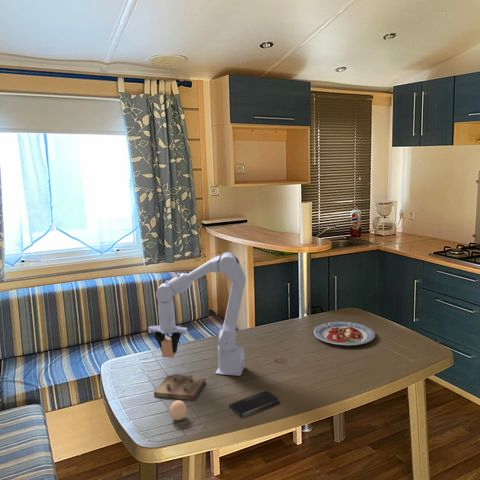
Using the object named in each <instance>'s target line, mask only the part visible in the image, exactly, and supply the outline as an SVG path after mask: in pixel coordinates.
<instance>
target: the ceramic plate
mask: <svg viewBox="0 0 480 480" xmlns="http://www.w3.org/2000/svg"><path fill="white" fill-rule="evenodd" d="M361 334H362V336H363V339H361V338H362V336H361ZM313 335H314V336H315V338H317V339H318V340H320V341H322V342H324V343H329V344H332V345H339V346H359V345H363V344H367V343H369V342H372V341H373V340H374V339H375V337H376V333H375V331H374V330H373V329H372V328H370V327H368V326H366V325H363V324H360V323H355V322H351V321H348V322H347V321H331V322H327V323H322V324H320V325H318V326H316V327H315V328H314V330H313ZM360 339H361V341H359V340H360ZM357 340H358V341H359V342H358V341H357ZM352 341H353V342H352ZM354 341H355V342H354ZM349 342H350V343H349ZM351 342H352V343H351Z"/></svg>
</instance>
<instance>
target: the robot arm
mask: <svg viewBox="0 0 480 480" xmlns="http://www.w3.org/2000/svg"><path fill="white" fill-rule="evenodd" d="M220 272H221V274H223V275H225V276H227V278H228V279H229V280H230V281H231V288H230V292H229V297H228V301H227V307H226V312H225V316H224V321H223V325H222V327H221V328H220V329H219V331H218V340H217V360H218V363H217V364H218V366H217V369H216V370H215V375H224V376H226V375H227V376H236V377H237V376H239V377H240V376H241V375H242V373H243V371H244V369H245V367H246V365H245V349H244V348H242V347H239V346H238V344H237V343H236V329H237V328H236V327H237V323H238V320H239V319H238V318H239V313H240V309H241V305H242V299H243V294H244V291H245V286H246V281H247V279H246V274H245V272H244V270H243V267H242V265H241V262H240V259H239V258H238V257H237V256H236V255H235V253H233V252H230V251H226V252H223V253H221V254H218V255H216V256H215V257H213V258H211V259H209V260H208V261H206V262H205V263H203V264H202V265H200V266H198V267H196V268H195V269H193V270H192V271H190V272H189V273H187V272H186V273H185V272H181V273H180V272H178V273H177V274H176V275H175V277H173V278H171V279H169V280H168V279H167V280H165V281H164V283H161V284H160V285H159V286H158V288H157V289H156V291H155V297H156V299H157V310H158V322H159V323H158V324H159V325H150V326H148V327H147V331H148V334H149V333H154V335H153V338H154V339H155V340H156V341H157V343H158V346H159V348H160V352H161V353H162V346H161V341H162V340H163V339H164V338H165V337H166V334H171V336H170V338H171V340H172V345H173V353H175V352H177V351H178V347H179V346H178V345H179V342H180V339H181V336H182V335H187V334H188V327H183V326H178V325H176V318H175V315H176V314H175V303H174V296H177V295H179V294H180V293H182V292H184V291H186V290H187V289H189V288H191V287H192V284H193V282H194V281H196V280H198V279H200V278H202V277H204V276H206V275H207V274H210V273H216V274H219V273H220Z"/></svg>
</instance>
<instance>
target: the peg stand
mask: <svg viewBox="0 0 480 480" xmlns="http://www.w3.org/2000/svg"><path fill="white" fill-rule="evenodd" d="M205 383H206V378H205V377H196V376H195V377H194V375H192V374H191V375H189V376H182V375H181V376H180V375H177V374H176V373H174V374H172V375H169V374H167V375H166V377H165V378H164V379H163V380H162V381H161V382H160V384H159V386H158V387H157V388H156V389H155V390H154V391H153V396H154V397H156V398H157V397H158V398H168V399H178V400H189V401H195V399H196V398H197V396H198V394H199V393H200V392H201V389H202V388H203V386H204V384H205Z"/></svg>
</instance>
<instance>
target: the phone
mask: <svg viewBox="0 0 480 480" xmlns="http://www.w3.org/2000/svg"><path fill="white" fill-rule="evenodd" d="M278 404H280V399H279V398H278V397H277V396H275V395H274V394H273V393H271V392H270V391H268V390H264V391H261V392H259V393H256V394H253V395H250V396H248V397H244V398H243V399H239V400H237V401H233V402H231V403H230V404H229V409H230V410H231V411H232V412H233V413H235V414H236V416H237V417H239V418H245V417H248V416H250V415H253V414H255V413H258V412H260V411H263V410H267V409H268V408H271V407H274V406H276V405H278Z"/></svg>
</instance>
